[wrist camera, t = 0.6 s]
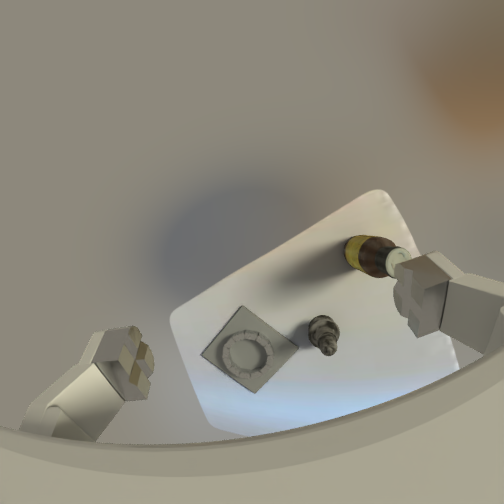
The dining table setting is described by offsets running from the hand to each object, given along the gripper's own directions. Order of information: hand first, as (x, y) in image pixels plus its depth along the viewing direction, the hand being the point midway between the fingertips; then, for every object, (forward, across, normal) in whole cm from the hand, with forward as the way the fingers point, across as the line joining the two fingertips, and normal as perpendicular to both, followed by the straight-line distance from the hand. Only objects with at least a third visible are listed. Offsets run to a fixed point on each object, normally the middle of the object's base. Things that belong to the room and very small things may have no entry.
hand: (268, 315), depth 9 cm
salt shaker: (+36, +8, -35) cm, 51 cm away
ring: (+36, -7, -37) cm, 52 cm away
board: (+36, -7, -37) cm, 53 cm away
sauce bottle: (+40, +18, -23) cm, 50 cm away
